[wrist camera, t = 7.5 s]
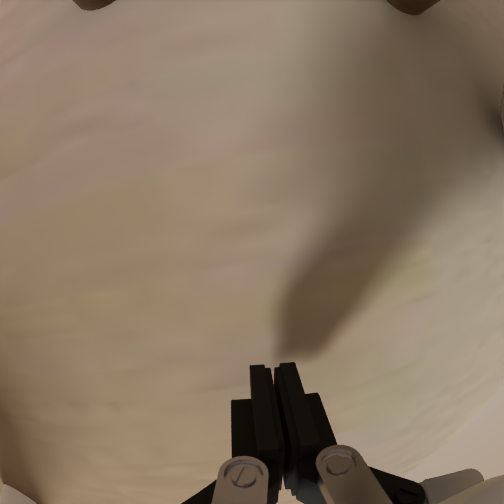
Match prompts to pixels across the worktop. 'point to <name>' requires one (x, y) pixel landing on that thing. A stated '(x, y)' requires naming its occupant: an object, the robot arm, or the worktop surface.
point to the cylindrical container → (13, 496)
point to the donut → (502, 109)
